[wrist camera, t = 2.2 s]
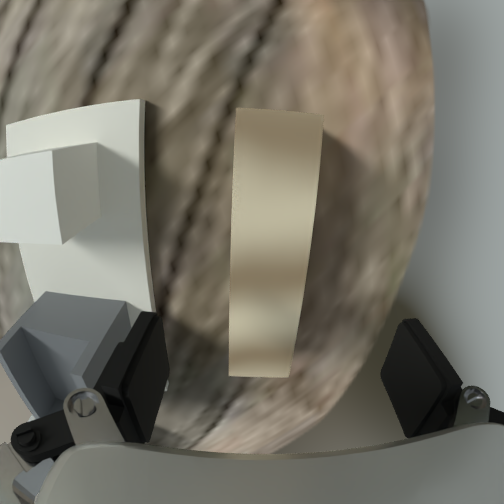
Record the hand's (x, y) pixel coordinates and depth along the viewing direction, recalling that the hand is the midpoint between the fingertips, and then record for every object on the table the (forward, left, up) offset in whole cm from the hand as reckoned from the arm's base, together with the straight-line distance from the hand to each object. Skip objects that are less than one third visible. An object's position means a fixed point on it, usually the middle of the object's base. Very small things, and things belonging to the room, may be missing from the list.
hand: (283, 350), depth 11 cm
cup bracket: (+1, -14, -10) cm, 18 cm away
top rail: (-1, 0, -10) cm, 10 cm away
